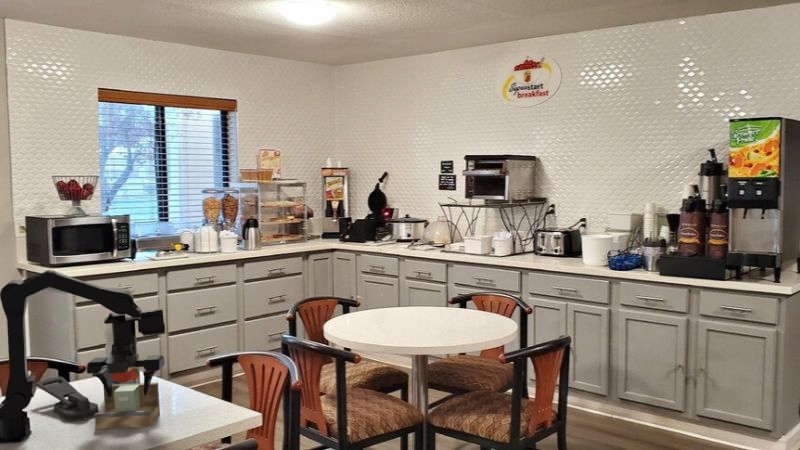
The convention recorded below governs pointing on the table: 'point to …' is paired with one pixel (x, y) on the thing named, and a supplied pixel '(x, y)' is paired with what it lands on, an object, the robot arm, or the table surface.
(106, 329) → the fruit juice
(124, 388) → the cabinet block
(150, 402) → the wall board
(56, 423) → the table surface
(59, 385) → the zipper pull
